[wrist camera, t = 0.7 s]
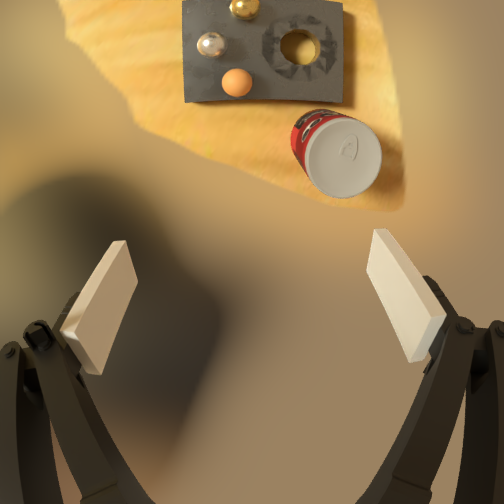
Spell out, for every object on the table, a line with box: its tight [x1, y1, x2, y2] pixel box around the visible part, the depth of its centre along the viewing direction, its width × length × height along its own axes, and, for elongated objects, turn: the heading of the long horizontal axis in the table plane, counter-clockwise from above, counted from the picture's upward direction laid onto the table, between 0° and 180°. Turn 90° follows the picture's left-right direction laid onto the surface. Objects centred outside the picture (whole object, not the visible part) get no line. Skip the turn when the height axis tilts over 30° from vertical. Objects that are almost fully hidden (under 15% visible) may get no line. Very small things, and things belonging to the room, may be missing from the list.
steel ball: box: [197, 32, 228, 59], centre depth 26 cm, size 3×3×3 cm
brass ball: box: [230, 0, 261, 20], centre depth 23 cm, size 3×3×3 cm
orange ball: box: [222, 69, 252, 97], centre depth 28 cm, size 3×3×3 cm
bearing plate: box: [182, 0, 344, 103], centre depth 28 cm, size 13×18×2 cm
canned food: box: [291, 109, 382, 199], centre depth 31 cm, size 8×8×11 cm
